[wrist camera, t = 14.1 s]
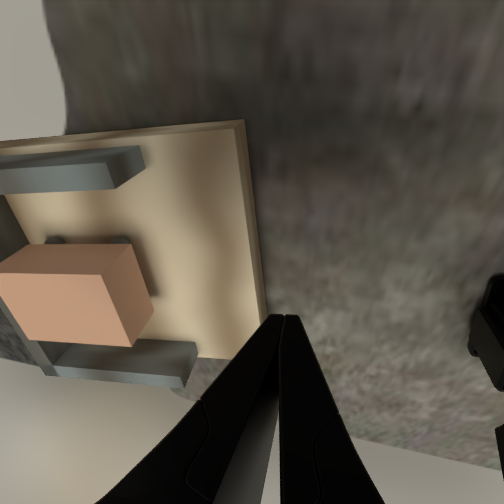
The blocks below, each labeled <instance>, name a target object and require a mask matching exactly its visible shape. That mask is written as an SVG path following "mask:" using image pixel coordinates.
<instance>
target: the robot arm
mask: <svg viewBox="0 0 504 504" xmlns="http://www.w3.org/2000/svg"><path fill="white" fill-rule="evenodd" d="M500 283H503V284H502V285H498V284H500ZM497 285H498V286H497ZM469 338H470V342H469V345H468V350H469V352H470V354H471V355H472V356H475V357H479V358H480V360H481V361H482V363H483V365H484V367H485V369H486V371H487V373H488V375H489V377H490V379H491V381H492V383H493V385H494V387H495V388H496V389H497V390H498V391H500V392H504V275H499V276H495V277H493V278H492V279H491V280H490V281H489V284H488V287H487V290H486V293H485V296H484V299H483V302H482V305H481V306H480V307H479V308H478V310H477V313H476V316H475V319H474V322H473V325H472V328H471V331H470V334H469ZM278 411H279V440H280V441H279V442H280V504H385V503H384V501H383V500H382V497H381V496H380V494H379V492H378V490H377V489H376V487H375V485H374V483H373V481H372V480H371V478H370V476H369V474H368V472H367V471H366V469H365V467H364V465H363V463H362V461H361V459H360V457H359V455H358V454H357V451H356V449H355V447H354V445H353V443H352V441H351V438H350V436H349V434H348V432H347V430H346V427H345V425H344V422H343V420H342V418H341V415H340V414H339V411H338V408H337V406H336V404H335V401H334V399H333V396H332V394H331V392H330V389H329V387H328V384H327V382H326V379H325V377H324V375H323V372H322V370H321V367H320V365H319V363H318V360H317V358H316V355H315V353H314V351H313V348H312V346H311V343H310V341H309V338H308V336H307V334H306V331H305V329H304V326H303V324H302V322H301V319H300V317H299V316H298V315H291V314H286V315H285V316H284V315H283V314H270V315H268V317H267V318H266V319H265V320H264V321H263V323H262V324H261V325H260V326H259V327H258V329H257V330H256V331H255V332H254V333H253V335H252V336H251V337H250V338H249V339H248V341H247V342H246V343H245V344H244V345H243V347H242V348H241V349H240V350H239V351H238V353H237V354H236V355H235V356H234V357H233V359H232V360H231V361H230V362H229V363H228V365H227V366H226V367H225V368H224V369H223V371H222V372H221V373H220V374H219V375H218V377H217V378H216V379H215V380H214V381H213V383H212V384H211V385H210V386H209V387H208V389H207V390H206V391H205V392H204V393H203V395H202V396H201V397H200V400H197V402H196V403H195V404H194V405H193V406H192V408H191V409H190V410H189V411H188V412H187V414H186V415H185V416H184V417H183V418H182V419H181V420H180V421H179V423H178V424H177V425H176V426H175V427H174V428H173V429H172V430H171V431H170V432H169V433H168V434H167V435H166V436H165V437H164V438H163V439H162V440H161V441H160V442H159V443H158V445H156V447H154V448H153V449H152V451H151V452H149V453H148V454H147V455H146V456H145V457H144V458H143V459H142V460H141V461H140V462H139V463H138V464H137V465H136V466H135V467H134V468H133V469H132V470H131V471H130V472H129V473H128V474H127V475H126V476H125V477H124V478H123V479H122V480H121V481H120V482H119V483H118V484H117V485H116V486H115V487H114V488H113V489H111V490H110V491H109V492H108V493H107V494H106V495H105V496H104V497H102V498H101V499H100V500H99V501H97V502H96V503H95V504H260V503H261V498H262V493H263V488H264V482H265V478H266V473H267V468H268V462H269V457H270V452H271V447H272V442H273V437H274V432H275V427H276V422H277V417H278ZM495 434H496V440H497V445H498V451H499V457H500V462H501V468H502V474H503V479H504V424H503V425H501V426H499V427H497V428H495Z"/></svg>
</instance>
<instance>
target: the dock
mask: <svg viewBox="0 0 504 504" xmlns="http://www.w3.org/2000/svg"><path fill="white" fill-rule="evenodd" d="M117 236H124V237H126V238H127V239H129V241H130V242H131V245H132V248H133V251H134V254H135V256H136V259H137V262H138V265H139V268H140V271H141V274H142V276H143V279H144V282H145V285H146V288H147V291H148V294H149V296H150V299H151V302H152V305H153V308H154V313H153V314H152V316H151V318H150V319H149V321H148V322H147V324H146V325H145V327H144V329H143V330H142V332H141V333H140V335H139V336H138V338H137V339H136V341H135V343H134V344H133V346H132V347H125V346H110V345H96V344H82V343H68V342H54V341H39V340H29V339H28V338H27V336H26V335H25V333H24V332H23V330H22V328H21V327H20V325H19V324H18V322H17V321H16V319H15V318H14V316H13V315H12V313H11V312H10V310H9V309H8V307H7V305H6V304H5V302H4V301H3V299H2V298H1V296H0V308H1V309H2V311H3V312H4V314H5V315H6V317H7V318H8V320H9V321H10V323H11V324H12V326H13V327H14V329H15V330H16V332H17V333H18V335H19V336H20V338H21V339H22V341H23V342H24V344H25V345H26V347H27V348H28V350H29V351H30V353H31V354H32V356H33V357H34V359H35V360H36V362H37V363H38V365H39V366H40V368H41V369H42V371H43V372H44V373H45V375H48V376H58V377H68V378H79V379H89V380H99V381H111V382H120V383H131V384H142V385H151V386H162V387H172V388H183V389H184V388H185V385H186V383H187V380H188V378H189V375H190V373H191V371H192V368H193V366H194V363H195V361H196V358H197V357H206V358H219V359H233V357H234V356H235V355H236V354H237V353H238V351H239V350H240V349H241V348H242V347H243V345H244V344H245V343H246V342H247V341H248V339H249V338H250V337H251V336H252V335H253V333H254V332H255V331H256V330H257V329H258V327H259V326H260V325H261V324H262V323H263V321H264V320H265V319H266V318H267V308H266V300H265V291H264V282H263V274H262V265H261V257H260V248H259V239H258V231H257V222H256V214H255V205H254V196H253V188H252V179H251V171H250V162H249V153H248V145H247V136H246V128H245V119H239V120H228V121H217V122H206V123H195V124H184V125H173V126H162V127H151V128H140V129H129V130H118V131H107V132H96V133H85V134H74V135H63V136H53V137H41V138H31V139H19V140H9V141H0V263H1V262H2V261H4V260H5V259H7V258H8V257H10V256H11V255H13V254H14V253H16V252H17V251H19V250H20V249H22V248H23V247H25V246H26V245H28V244H44V242H45V241H46V240H47V239H48V238H50V237H59V238H61V239H63V240H64V242H65V244H110V242H111V240H112V239H113V238H115V237H117Z"/></svg>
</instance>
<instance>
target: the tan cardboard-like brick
mask: <svg viewBox="0 0 504 504" xmlns="http://www.w3.org/2000/svg"><path fill="white" fill-rule="evenodd" d="M0 296H1V298H2V299H3V301H4V302H5V304H6V305H7V307H8V309H9V310H10V312H11V313H12V315H13V316H14V318H15V319H16V321H17V322H18V324H19V325H20V327H21V328H22V330H23V332H24V333H25V335H26V336H27V338H28V339H29V340H39V341H54V342H68V343H82V344H96V345H110V346H125V347H132V346H133V344H134V343H135V341H136V339H137V338H138V336H139V335H140V333H141V332H142V330H143V329H144V327H145V325H146V324H147V322H148V321H149V319H150V318H151V316H152V314H153V313H154V308H153V305H152V302H151V299H150V296H149V294H148V291H147V288H146V285H145V282H144V279H143V276H142V274H141V271H140V268H139V265H138V262H137V259H136V256H135V254H134V251H133V248H132V245H131V242H130V241H129V239H127V238H126V237H124V236H117V237H115V238H113V239H112V240H111V242H110V244H65V242H64V240H63V239H61V238H59V237H50V238H48V239H47V240H46V241H45V242H44V244H28V245H26V246H25V247H23V248H22V249H20V250H19V251H17V252H16V253H14V254H13V255H11V256H10V257H8V258H7V259H5V260H4V261H2V262H1V263H0Z"/></svg>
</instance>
